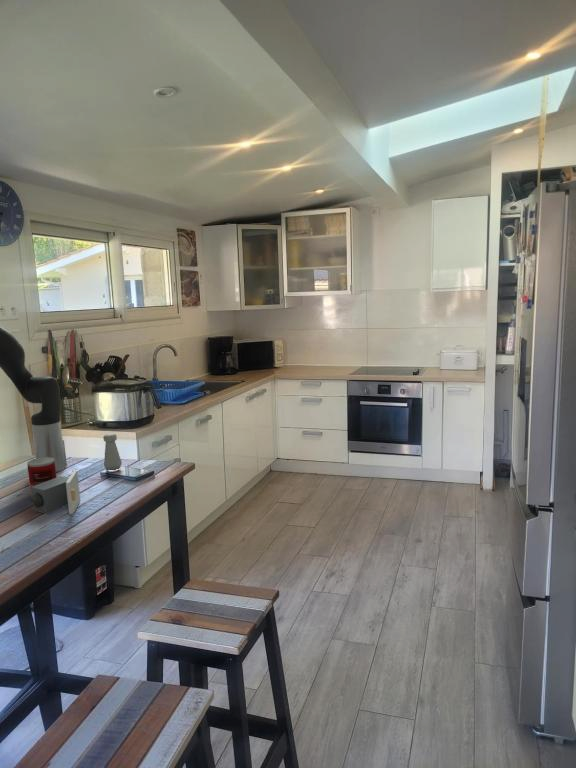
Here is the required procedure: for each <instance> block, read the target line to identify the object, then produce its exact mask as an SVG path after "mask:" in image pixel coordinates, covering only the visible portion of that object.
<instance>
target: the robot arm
mask: <svg viewBox="0 0 576 768" xmlns="http://www.w3.org/2000/svg"><path fill="white" fill-rule="evenodd" d="M25 361H26V353H25V349H24V347H23V346H22V345H21V343H20V342H19V340H17V338H16V337H15V336H14V335H13V334H12V333H11V332H10V331H9V330H7V329H5V328H3V327H2V325H0V369H1V370H2V371H3V372H4V374H5V375H6V376H7V377H8V379H10V380H11V382H12V383H13V385H14V386H15V388H16V389H17V390H18V392H19V394H20V395H21V397H23V398H24V400H25V402H28V403H30V404H41V410H40V411H39V412H37V413H35V414H34V413H33V414H32V415H31V416H30V421H31V430H32V437H33V438H32V439H33V445H34V453H35V459H36V458H42V457H51V458H54V461H55V468H56V473H58V472H62V471H64V470H65V469H66V468H67V465H68V464H67V463H68V462H67V455H66V454H67V453H66V445H65V440H63V434H62V433H63V432H62V423H61V412H62V405H61V390H60V389H61V388H60V384H59V382H58V380H57V379H56V378H55V377H53V376H35V375H33V374H32V373H31V372H30V371H29V370H28V369H27V367H26V365H25Z"/></svg>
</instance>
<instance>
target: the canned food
mask: <svg viewBox="0 0 576 768" xmlns="http://www.w3.org/2000/svg"><path fill="white" fill-rule="evenodd" d="M27 473H28V481H29V488H30V490H31V487H32V486H35V485H38V484H40V483H43V482H46V481H49V480H51V479H54V478H57V472H56V468H55V461H54V458H51V457H42V458H36V457H35V458H34V459H30V460H29V461H28V462H27ZM30 495H31V496H32V493H31V492H30Z"/></svg>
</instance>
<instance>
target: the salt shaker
mask: <svg viewBox="0 0 576 768" xmlns="http://www.w3.org/2000/svg"><path fill="white" fill-rule="evenodd" d="M117 438H118V436H117V434H116V433H114V432H112V433H111V432H110V433H105V434H104V435H103V442H105V447H104V448H105V449H104V460H103V461H104V463H103V465H104V466H103V467H104V468H105V470H106V471H107V470H116V469H119V468H121V466H122V460H121V456H120V452H119V450H118V447H117V443H116V440H117Z"/></svg>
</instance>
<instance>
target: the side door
mask: <svg viewBox="0 0 576 768" xmlns="http://www.w3.org/2000/svg"><path fill="white" fill-rule="evenodd" d="M72 471H73V470H72ZM78 476H79V475H78V470H76V471H73V472H72V473H71V474H70V476H69V477H68V478H69V479H68V480H67V482H66V489H67V498H68V505H67V507H68V514H69V515H74V513H75V511H76V510H77V507H78V506H79V503H80V502H81V494H80V485H79V477H78Z"/></svg>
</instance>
